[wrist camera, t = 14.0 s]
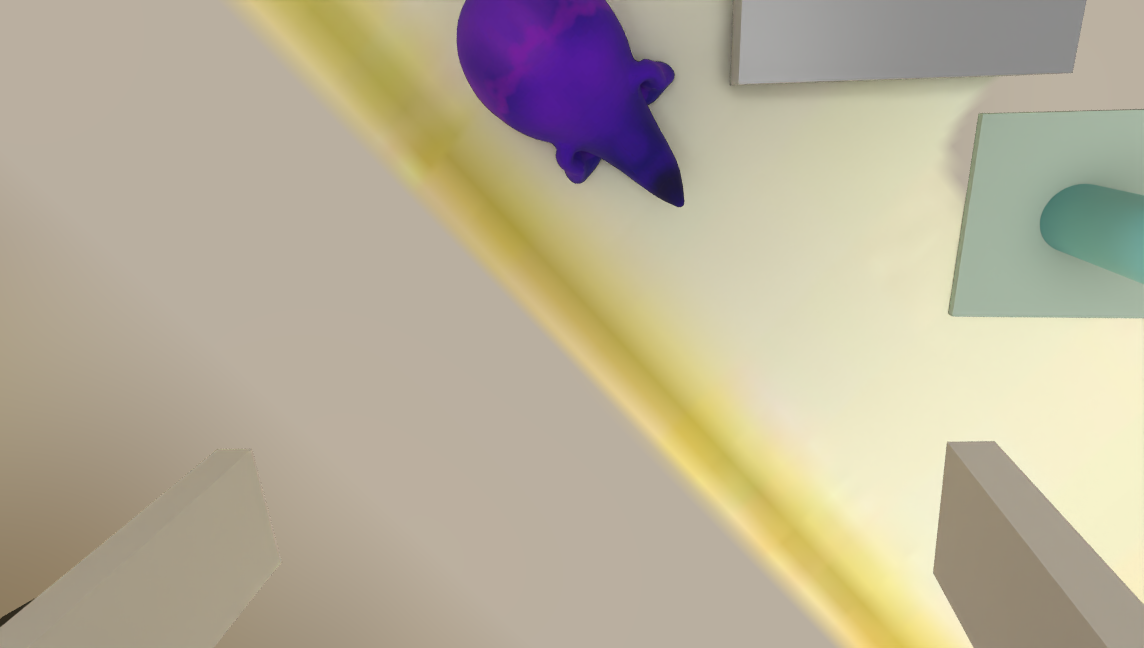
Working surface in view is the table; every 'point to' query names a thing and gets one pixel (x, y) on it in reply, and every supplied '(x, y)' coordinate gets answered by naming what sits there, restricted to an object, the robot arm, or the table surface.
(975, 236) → the mat
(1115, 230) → the plug
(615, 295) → the table surface
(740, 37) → the socket
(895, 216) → the table surface
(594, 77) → the toy
